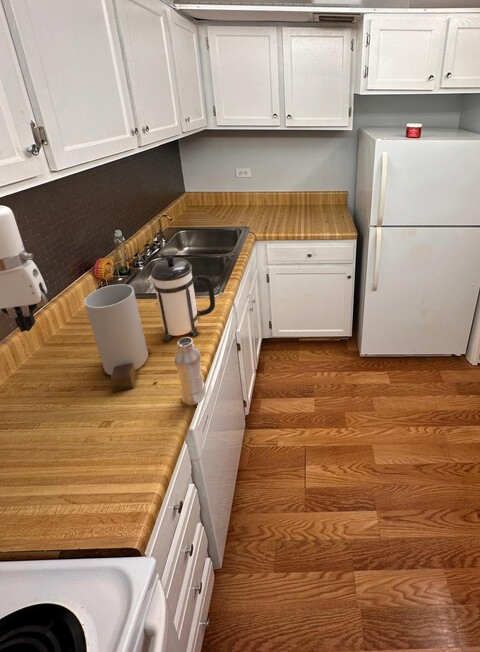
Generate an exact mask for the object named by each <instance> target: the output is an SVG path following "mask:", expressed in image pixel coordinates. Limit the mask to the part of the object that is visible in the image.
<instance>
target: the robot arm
mask: <svg viewBox="0 0 480 652" xmlns="http://www.w3.org/2000/svg"><path fill="white" fill-rule="evenodd" d="M34 258H35V256H34V253H33V252H30V253H29V252H27V250H26V249H25V247H24V244H23V240H22V237H21V233H20V231H19V227H18V224H17V221H16V217H15V214H14V212H13V210H12V209H11V208H10V207H9V206H5V205H0V313H4V314H6V315H8V316H9V317H10V318H11V319H14V320H15V324H16V327H17V328H19V330H20V333H24V332H30V331H31V330H32V328H33V327H34V326H35V325H36V318H35V316H34V312H33V311H35V310H36V309H37V308H40V307H44V306H46V305H47V304H48V302H49V299H48V298H47V297H46V295H47V293H48V288H47V286H46V283H45V280H44V278H43V276H42V274H41V272H40V270H39V268H38V266H37V264H36V263H35V262H34V261H33V259H34Z"/></svg>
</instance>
